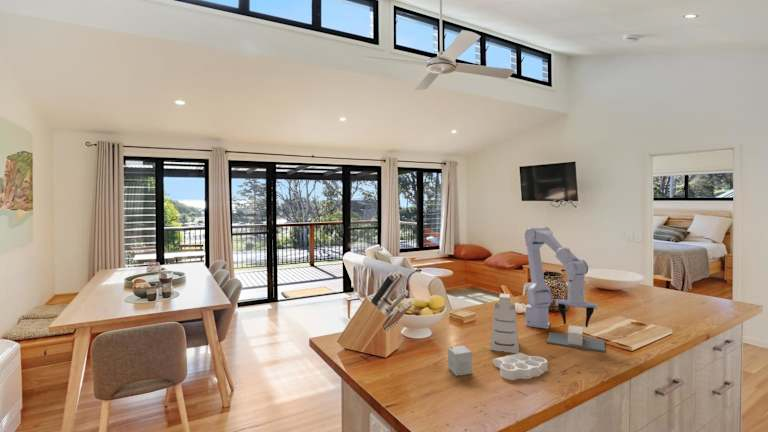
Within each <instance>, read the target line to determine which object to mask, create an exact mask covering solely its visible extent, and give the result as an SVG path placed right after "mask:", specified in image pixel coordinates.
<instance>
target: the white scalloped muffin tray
mask: <svg viewBox="0 0 768 432" xmlns="http://www.w3.org/2000/svg"><path fill="white" fill-rule="evenodd" d="M491 362H492V364H493V365H494V366H495V367H496V368H497V367H498V368H497V369H499V371H500V372H499V373H500V376H501V378H504V379H506V380H510V381H516V380H519V379H521V380H522V379H523V380H530V379H532V378H533V377H534V378H535V377H540V376H541V375H543V374H545V373H546V372H548V360H547V359H546V358H544V357H542V356H539V355H527V354H525V353H523V352H519V353H512V354H510V355H509V354H508V355H507V354H506V355H505V356H501V357H496V358H493V359H492V361H491Z"/></svg>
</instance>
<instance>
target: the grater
mask: <svg viewBox="0 0 768 432" xmlns="http://www.w3.org/2000/svg"><path fill="white" fill-rule="evenodd" d="M510 299H511V294H510V293H499V299H498V301H499V302H498V303H495V304H494V307H493V315H492V316H493V317H492V326H491V334H490V343H489V344H490V345H489V351H492V350H495V351H494V352H501V351H504V352H503V353H510V352H511V353H512V354H517V353H520V346H519V344H520V342H519V341H520V340H519V331H518V323H517V314H516V313H517V311H516V306H515V304H512V303H511V300H510ZM510 303H511V304H510ZM499 344H501V345H499ZM509 345H510V346H509ZM511 345H512V346H511ZM511 353H510V354H511Z"/></svg>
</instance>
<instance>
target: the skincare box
mask: <svg viewBox="0 0 768 432" xmlns="http://www.w3.org/2000/svg"><path fill="white" fill-rule="evenodd" d="M447 358H448V359H447V361H448V363H447V364H448V365H447V366H448V368H449V369H450V370H451V371H452V374H454V376H455V377H459V376H458V375H460V376H464V375H471V374H473V352H472V351H471V350H470V349H469V348H467V347H466V346H465V345H456V346H451V347H448V348H447ZM448 368H447V369H448ZM449 369H448V370H449ZM450 370H449V371H450ZM451 371H450V372H451Z"/></svg>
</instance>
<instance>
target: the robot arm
mask: <svg viewBox="0 0 768 432" xmlns="http://www.w3.org/2000/svg"><path fill="white" fill-rule="evenodd" d="M553 233H554V232H553V230H551V229H550V227H548V226H543V227H528V228H526V230H525V232H524V239H525V245H526V253H527V259H528V265H529V274H530V280H531V285H529V286H528V287H527V288H526V290H527V293H526V300H527V304H526V305H525V324H524V325H525V326H526V327H532V328H541V329H547V330H548V329H549V328H550V324H551V322H549V307H550V306H551V304H552V303H553V301H554V298H553V293H552V292H551V288H550V286H549V285H548V284H546V283H545V276H544V270H543V263H542V262H543V261H542V258H541V256H542V255H541V250H540V249H541V248H542V246H544V245H545V244H546V245H547V246H548V247H549V248H550V249H551V250H552V251H553V252H554V253H555V258H556V259H557V260H558V261H559V262H560V263H561V264H562V265H563V266H564V271H565V273H566V278H567V283H568V284H567V299H560V298H559V299H557V298H556V299H555V306H558V310H559V312H560V315H561V317H562V320H563V321H562V322H563V324H564V325H566V324H567V316H566V311H567V309H566V308H567V307H574V308H583V309H585V311H586V312H585V328H589V327H588V325H589V322H590V319H591V317H592V315H593V314H594V311H597V310H598V304H597V303H593V302H589V301H585V275H587V274H588V272H589V265H588V264H587V261H585V260H584V259H580V258H578V257H577V256H576V255H575V254H573V252H572V251H571V249H570V248H568V247H563V246H562V244H560V243H559V241H558V240H557V239H556V238H555V236H554V234H553Z"/></svg>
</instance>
